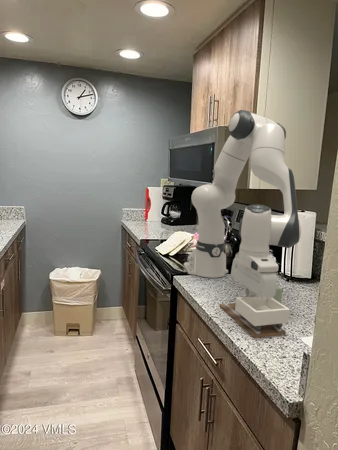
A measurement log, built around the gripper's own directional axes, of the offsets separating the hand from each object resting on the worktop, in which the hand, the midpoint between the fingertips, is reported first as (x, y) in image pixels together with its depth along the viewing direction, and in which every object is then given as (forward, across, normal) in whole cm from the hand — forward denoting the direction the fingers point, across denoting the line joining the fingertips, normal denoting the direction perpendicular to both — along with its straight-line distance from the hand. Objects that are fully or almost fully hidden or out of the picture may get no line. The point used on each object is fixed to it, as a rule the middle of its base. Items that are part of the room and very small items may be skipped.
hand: (249, 301), depth 108 cm
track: (+5, +1, 0) cm, 5 cm away
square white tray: (+4, +7, 0) cm, 8 cm away
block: (+5, -9, +15) cm, 18 cm away
